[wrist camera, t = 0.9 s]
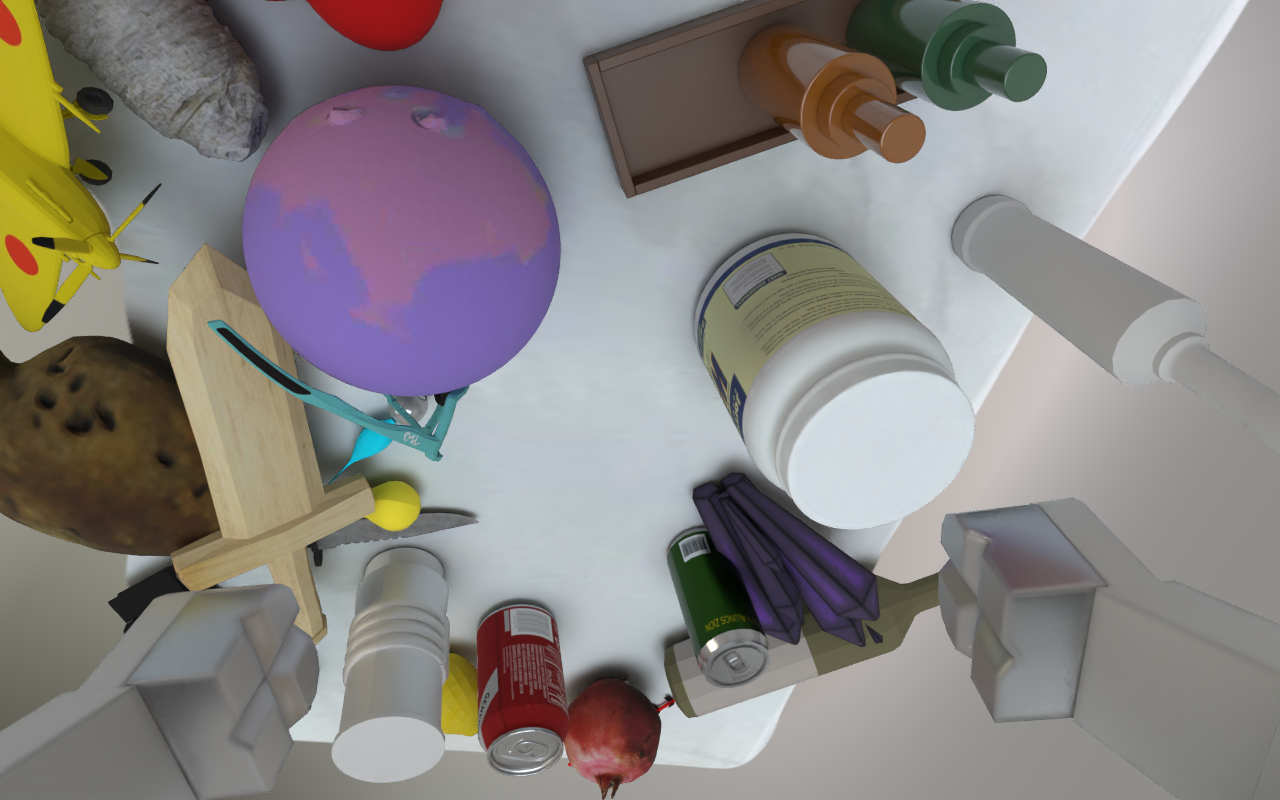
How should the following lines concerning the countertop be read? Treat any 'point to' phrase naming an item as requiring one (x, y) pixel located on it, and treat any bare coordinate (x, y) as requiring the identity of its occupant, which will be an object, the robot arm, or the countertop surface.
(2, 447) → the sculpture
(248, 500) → the toy sword
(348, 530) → the knife
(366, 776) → the white capped cylinder
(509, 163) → the decorative ball
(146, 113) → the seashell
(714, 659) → the beer can
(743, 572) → the crystal
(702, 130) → the tray
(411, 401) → the fishing lure
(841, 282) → the supplement tub
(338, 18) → the heart
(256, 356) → the sunglasses
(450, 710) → the fruit
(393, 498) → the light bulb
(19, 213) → the airplane
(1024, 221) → the bottle
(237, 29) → the countertop surface
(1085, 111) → the countertop surface
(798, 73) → the amber bottle
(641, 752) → the fruit
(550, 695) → the soda can
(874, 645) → the bottle
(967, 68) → the green bottle
